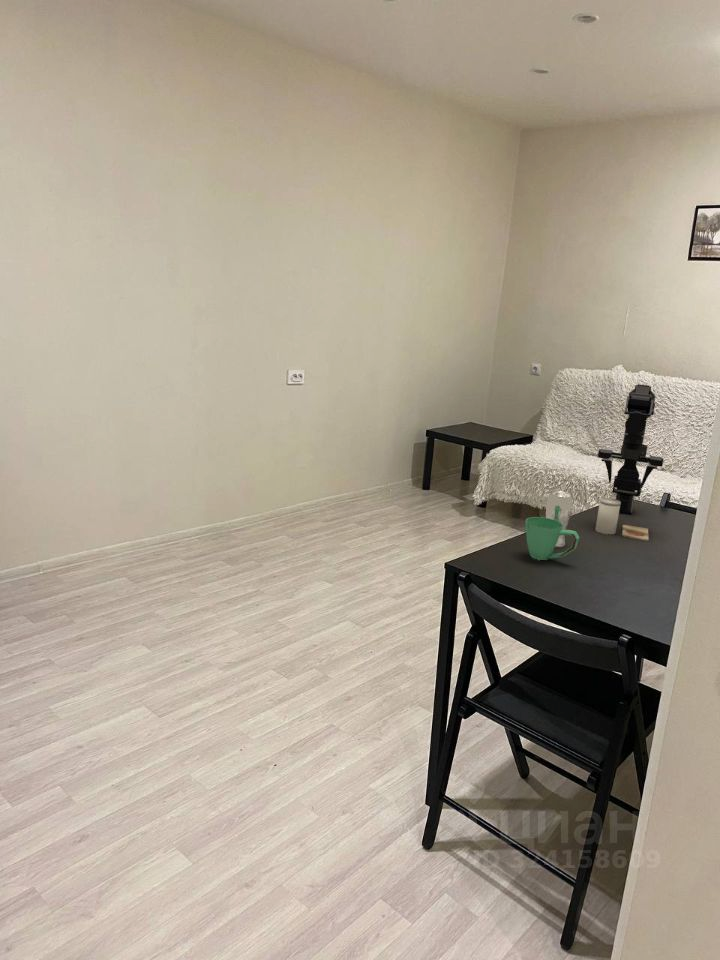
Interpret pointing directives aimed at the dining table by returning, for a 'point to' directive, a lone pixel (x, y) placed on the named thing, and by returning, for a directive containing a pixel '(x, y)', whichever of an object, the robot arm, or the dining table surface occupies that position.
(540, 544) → the mug
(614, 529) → the white lidded jar
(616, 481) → the robot arm
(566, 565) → the dining table surface
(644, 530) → the mat
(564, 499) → the beer glass
